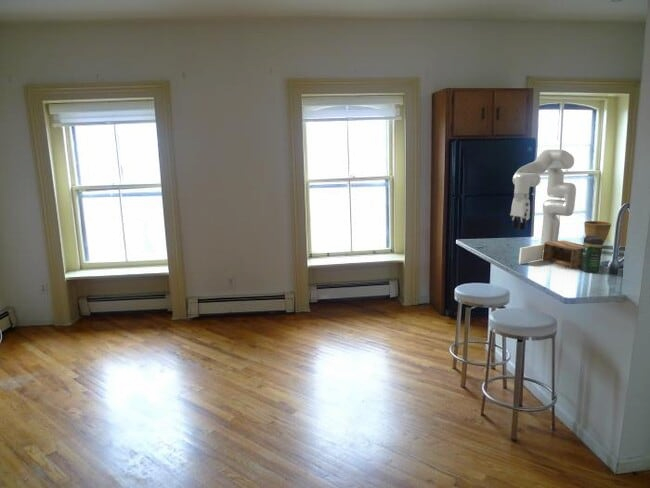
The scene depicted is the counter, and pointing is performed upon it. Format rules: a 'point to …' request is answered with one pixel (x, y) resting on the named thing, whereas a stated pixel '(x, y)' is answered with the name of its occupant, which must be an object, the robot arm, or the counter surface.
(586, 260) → the coffee jar
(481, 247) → the counter surface
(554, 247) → the cabinet
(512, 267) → the counter surface
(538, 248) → the door
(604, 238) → the plant pot
